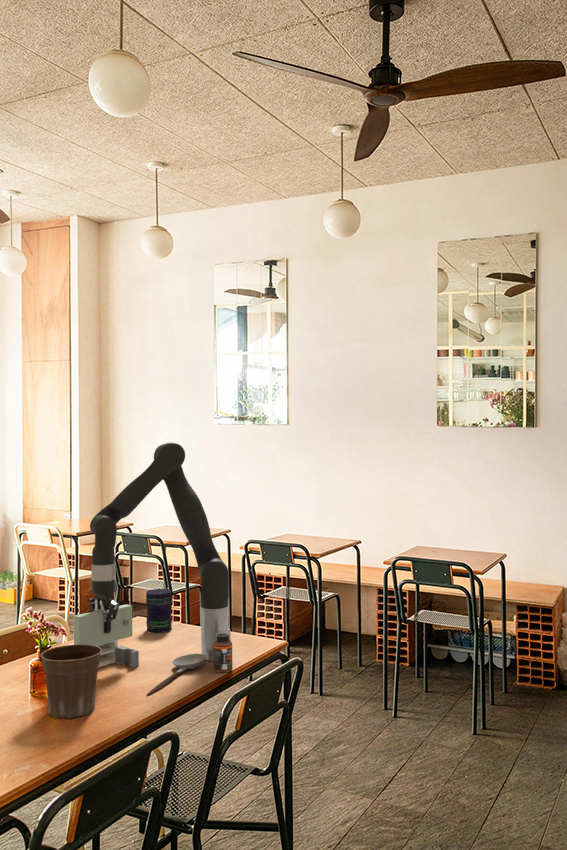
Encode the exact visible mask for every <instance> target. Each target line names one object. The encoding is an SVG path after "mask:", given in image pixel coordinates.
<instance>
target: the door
mask: <svg viewBox="0 0 567 850" xmlns="http://www.w3.org/2000/svg"><path fill="white" fill-rule="evenodd" d="M106 611H109V610H106ZM112 616H113V615H112ZM107 617H108V614H107ZM130 637H133V605H130V604H128V603H127V604H123V605H119V608H118V612H117V616H116V619H115V620H112V621H111V632H110V633H107V634H105V633H104V617H103V614H102V611H101V610H99V611H93V612H91V611H90V612H86V613H79V614H75V615H73V643H74V645H77V644H86V645H94V646H97V645H100V644H104V643H108V642H112V641H116V640H118V641H119V640H123V639H127V638H130Z"/></svg>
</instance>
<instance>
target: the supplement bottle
mask: <svg viewBox="0 0 567 850" xmlns="http://www.w3.org/2000/svg"><path fill="white" fill-rule="evenodd" d="M216 639H217V641H215V642H214V661H213V670H214V672H216V673H221V674H223V673H225V674H226V673H229V672H231V671H232V670H233V642H232V640H231V641H230V640H229V634H226V633H221V634H217V638H216Z"/></svg>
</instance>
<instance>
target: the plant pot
mask: <svg viewBox="0 0 567 850" xmlns="http://www.w3.org/2000/svg"><path fill="white" fill-rule="evenodd" d="M101 653H102V649H101V648H100V647H98V646H94V645H86V644H77V645H69V644H66V646H65V645H60V646H57V647H56V646H54V647H52V648H48V649H47V650H44V651H42V652H41V653H40V659H41V660H42V668H43V669H42V670H43V671H44V676H45V687H46V697H47V707H48V709H47V711H48V715H50V716H51V717H53V718H57V719H62V718H63V717H64V718H66V719H72V718H81V717H83V716H86V715H88V714H91V713H92V712H93V710H94V709H95V707H96V706H95V705H96V704H95V703H96V695H97V694H96V693H97V682H98V681H97V679H98V669H99V667H98V666H99V661H100V654H101Z"/></svg>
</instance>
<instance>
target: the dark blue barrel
mask: <svg viewBox="0 0 567 850" xmlns="http://www.w3.org/2000/svg"><path fill="white" fill-rule="evenodd" d="M145 594H146V595H145V596H146V597H145V602H146V604H145V606H146V613H147V614H146V621H145V622H146V632H147V633H150V634H159V633H160V634H163V633H168V632H171V631H172V625H173V624H172V623H173V619H172V617H173V616H172V597H173V596H172V590H171V589H169V588H153V589H149V590H147V591H146V593H145Z"/></svg>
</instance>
